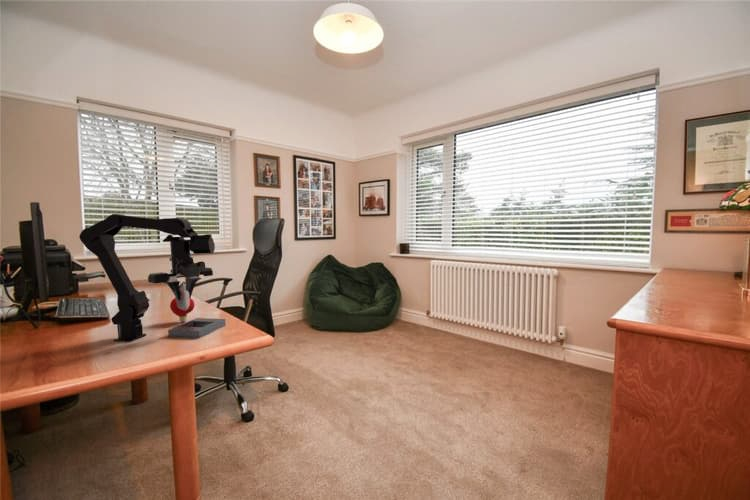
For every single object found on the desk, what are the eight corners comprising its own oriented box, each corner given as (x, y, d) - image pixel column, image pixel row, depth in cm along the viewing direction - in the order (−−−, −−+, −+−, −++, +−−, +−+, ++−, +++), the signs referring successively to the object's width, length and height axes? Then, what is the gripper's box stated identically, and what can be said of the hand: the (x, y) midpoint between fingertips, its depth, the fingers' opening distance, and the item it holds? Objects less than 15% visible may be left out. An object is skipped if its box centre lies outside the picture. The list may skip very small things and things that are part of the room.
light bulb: (166, 324, 122) (164, 299, 121) (180, 319, 129) (178, 295, 128) (187, 325, 120) (185, 299, 120) (200, 320, 127) (198, 295, 127)
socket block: (168, 336, 108) (168, 329, 108) (197, 324, 122) (197, 318, 122) (199, 338, 106) (199, 331, 106) (225, 325, 120) (225, 319, 120)
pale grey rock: (173, 310, 109) (173, 281, 109) (184, 308, 112) (184, 280, 111) (181, 312, 106) (181, 282, 105) (192, 310, 109) (192, 281, 108)
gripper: (161, 258, 95) (164, 308, 97) (220, 253, 111) (222, 296, 112) (145, 256, 102) (149, 304, 103) (203, 252, 117) (206, 293, 118)
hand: (183, 299), depth 109 cm, fingers closed on pale grey rock, 3 cm apart
